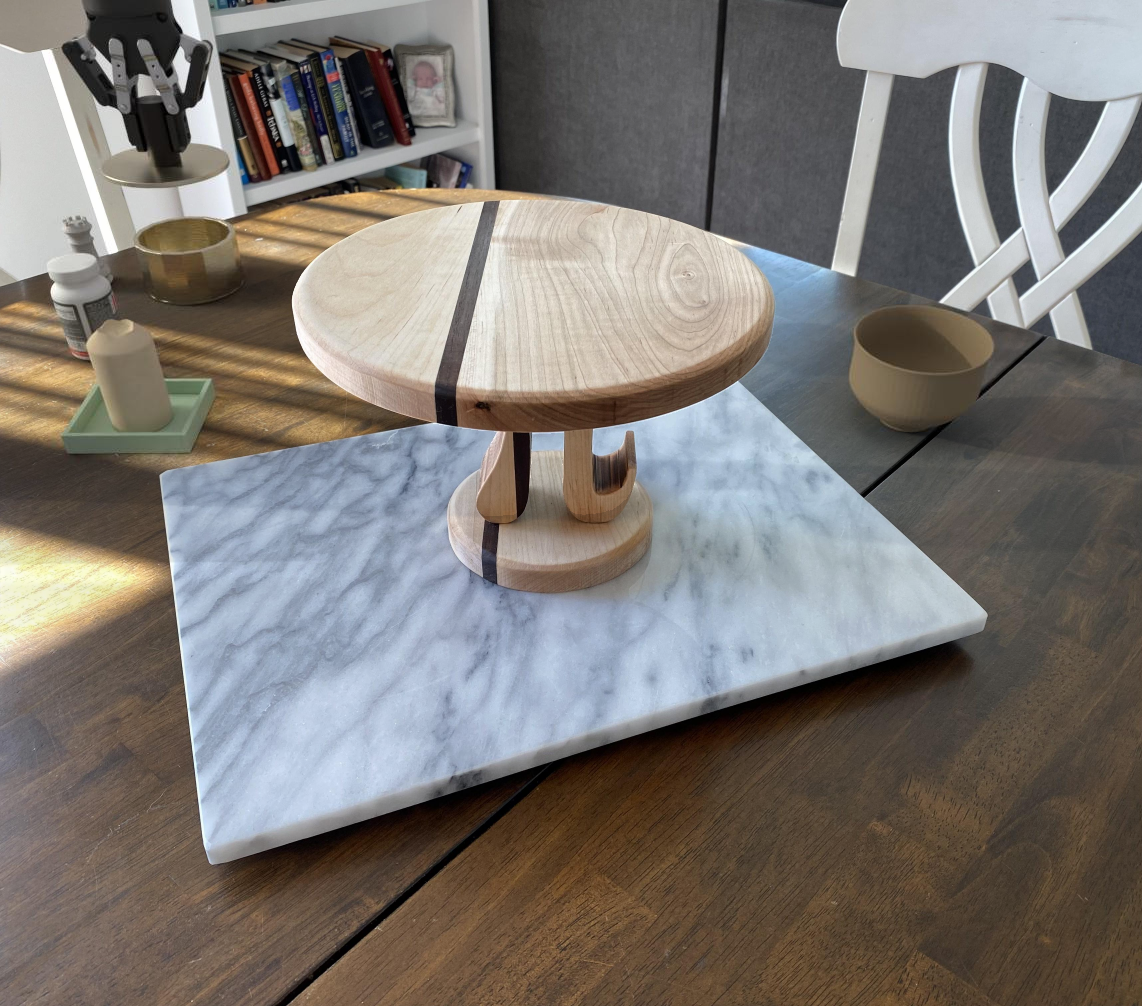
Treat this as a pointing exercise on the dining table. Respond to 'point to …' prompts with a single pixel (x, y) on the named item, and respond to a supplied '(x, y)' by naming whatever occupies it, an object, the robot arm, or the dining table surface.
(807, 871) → the dining table surface
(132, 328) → the candle
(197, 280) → the pot
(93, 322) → the pill bottle
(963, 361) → the bowl
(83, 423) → the tray
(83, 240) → the rook chess piece
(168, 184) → the lid
